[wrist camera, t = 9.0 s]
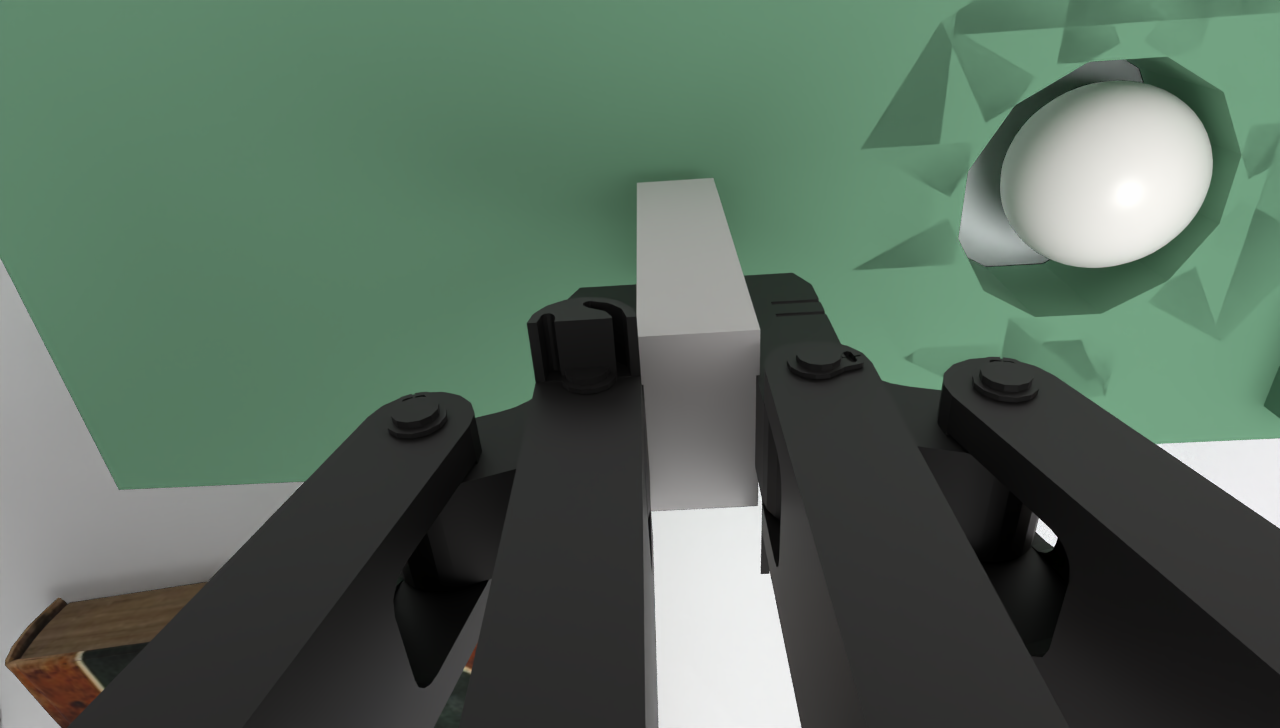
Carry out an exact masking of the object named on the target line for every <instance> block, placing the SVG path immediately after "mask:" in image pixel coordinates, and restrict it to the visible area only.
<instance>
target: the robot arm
mask: <svg viewBox="0 0 1280 728" xmlns="http://www.w3.org/2000/svg"><path fill="white" fill-rule="evenodd" d="M527 329H528V336H529V342H530V349H531V356H532V362H533V369H534V375H535V382H536V383H535V387H534V392H533V396H532V399H530V400H529V401H527V402H525V403H523V404H521V405H519V406H516V407H514V408H511V409H507V410H504V411H501V412H497V413H493V414H489V415H485V416H481V417H476V418H475V413H474V410H473V407H472V404H471V402H469V401H468V400H466V399H465V398H463V397H462V396H460V395H456V394H452V393H447V392H419V393H415V394H414V395H412V394H409V395H405V396H402V397H400V398H399V399H397V400H394V401H392V402H390V403H388V404H385V405H383V406H381V407H380V408H379V409H378V410H376V411H375V412H374V413H372V414H371V415H370V416H368V417H367V418H366V419H365V420H364V421H363V422H362V423H361V424H360V425H359V426H358V427H357V429H356V430H355V431H354V432H353V433H352V434H351V435H350V436H349V437H348V438H347V439H346V440H345V441H344V442H343V443H342V444H341V445H340V446H339V447H338V448H337V449H336V450H335V451H334V452H333V453H332V454H331V455H330V456H329V457H328V458H327V459H326V461H325V462H324V463H323V464H322V465H321V466H320V467H319V468H318V469H317V470H316V471H315V472H314V473H313V474H312V475H311V476H310V477H309V478H308V479H307V480H306V481H305V482H304V483H303V484H302V485H301V486H300V487H299V488H298V489H297V490H296V492H295V493H294V494H293V495H292V496H291V497H290V498H289V499H288V500H287V501H286V502H285V503H284V504H283V505H282V506H281V507H280V508H279V509H278V510H277V511H276V512H275V513H274V514H273V515H272V516H271V517H270V518H269V519H268V520H267V521H266V522H265V524H264V525H263V526H262V527H261V528H260V529H259V530H258V531H257V532H256V533H255V534H254V535H253V536H252V537H251V538H250V539H249V540H248V541H247V542H246V543H245V544H244V545H243V546H242V547H241V548H240V549H239V550H238V551H237V552H236V553H235V555H234V556H233V557H232V558H231V559H230V560H229V561H228V562H227V563H226V564H225V565H224V566H223V567H222V568H221V569H220V570H219V571H218V572H217V573H216V574H215V575H214V576H213V577H212V578H211V579H210V580H209V581H208V582H207V583H206V584H205V585H204V587H203V588H202V589H201V590H200V591H199V592H198V593H197V594H196V595H195V596H194V597H193V598H192V599H191V600H190V601H189V602H188V603H187V604H186V605H185V606H184V607H183V608H182V609H181V610H180V611H179V612H178V613H177V614H176V615H175V616H174V617H173V619H172V620H171V621H170V622H169V623H168V624H167V625H166V626H165V627H164V628H163V629H162V630H161V631H160V632H159V633H158V634H157V635H156V636H155V637H154V638H153V639H152V640H151V641H150V642H149V643H148V644H147V645H146V646H145V647H144V648H143V650H142V651H141V652H140V653H139V654H138V655H137V656H136V657H135V658H134V659H133V660H132V661H131V662H130V663H129V664H128V665H127V666H126V667H125V668H124V669H123V670H122V671H121V672H120V673H119V674H118V675H117V676H116V677H115V678H114V679H113V680H112V682H111V683H110V684H109V685H108V686H107V687H106V688H105V689H104V690H103V691H102V692H101V693H100V694H99V695H98V696H97V697H96V698H95V699H94V700H93V701H92V702H91V703H90V704H89V705H88V706H87V707H86V708H85V709H84V710H83V711H82V712H81V714H80V715H79V716H78V717H77V718H76V719H75V720H74V721H73V722H72V723H71V724H70V725H69V726H68V727H67V728H434V726H435V724H436V722H437V720H438V718H439V716H440V714H441V712H442V710H443V708H444V707H445V705H446V703H447V701H448V699H449V697H450V695H451V693H452V691H453V689H454V687H455V685H456V683H457V681H458V679H459V677H460V675H461V674H462V672H463V670H464V668H465V666H466V664H467V662H468V660H469V658H470V656H471V654H472V652H473V650H474V648H475V646H476V644H477V642H478V644H477V648H476V653H475V657H474V661H473V666H472V670H471V675H470V679H469V684H468V688H467V693H466V697H465V702H464V706H463V711H462V715H461V720H460V724H459V728H658V699H657V664H656V630H655V595H654V561H653V533H652V519H651V511H667V510H687V509H706V508H726V507H745V506H758V482H759V487H760V491H761V496H762V540H761V574H769V571H770V574H771V579H772V584H773V589H774V594H775V599H776V604H777V609H778V614H779V619H780V624H781V628H782V633H783V638H784V643H785V648H786V653H787V658H788V663H789V668H790V673H791V678H792V683H793V687H794V692H795V697H796V702H797V707H798V712H799V717H800V722H801V727H802V728H1280V529H1279V528H1278V527H1276V526H1275V525H1273V524H1272V523H1271V522H1269V521H1268V520H1266V519H1265V518H1263V517H1262V516H1260V515H1259V514H1257V513H1256V512H1254V511H1253V510H1251V509H1250V508H1249V507H1247V506H1246V505H1244V504H1243V503H1241V502H1240V501H1238V500H1237V499H1235V498H1234V497H1232V496H1231V495H1229V494H1228V493H1226V492H1225V491H1224V490H1222V489H1221V488H1219V487H1218V486H1216V485H1215V484H1213V483H1212V482H1210V481H1209V480H1207V479H1206V478H1204V477H1203V476H1201V475H1200V474H1199V473H1197V472H1196V471H1194V470H1193V469H1191V468H1190V467H1188V466H1187V465H1185V464H1184V463H1182V462H1181V461H1179V460H1178V459H1177V458H1175V457H1174V456H1172V455H1171V454H1169V453H1168V452H1166V451H1165V450H1163V449H1162V448H1160V447H1159V446H1157V445H1156V444H1154V443H1153V442H1152V441H1150V440H1149V439H1147V438H1146V437H1144V436H1143V435H1141V434H1140V433H1138V432H1137V431H1135V430H1134V429H1132V428H1131V427H1130V426H1128V425H1127V424H1125V423H1124V422H1122V421H1121V420H1119V419H1118V418H1116V417H1115V416H1113V415H1112V414H1110V413H1109V412H1107V411H1106V410H1105V409H1103V408H1102V407H1100V406H1099V405H1097V404H1096V403H1094V402H1093V401H1091V400H1090V399H1088V398H1087V397H1085V396H1084V395H1082V394H1081V393H1080V392H1078V391H1077V390H1075V389H1074V388H1072V387H1071V386H1069V385H1068V384H1066V383H1065V382H1063V381H1062V380H1060V379H1059V378H1058V377H1056V376H1055V375H1053V374H1051V373H1049V372H1047V371H1045V370H1043V369H1041V368H1039V367H1037V366H1034V365H1031V364H1027V363H1023V362H1020V361H1018V360H1016V359H1012V358H1005V357H1003V359H1001V358H1000V357H986V358H975V359H968V360H965V361H962V362H959V363H956V364H953V365H952V366H951V367H950V368H949V369H948V370H947V371H946V372H945V373H944V376H943V382H942V389H941V390H935V389H927V388H918V387H910V386H904V385H898V384H893V383H889V382H886V381H882V380H881V378H880V376H879V374H878V372H877V371H876V369H875V367H874V365H873V363H872V362H871V361H870V360H869V359H868V358H867V357H866V356H865V355H864V354H863V353H862V352H860V351H858V350H856V349H853V348H851V347H849V346H847V345H842V344H841V343H840V341H839V339H838V337H837V335H836V333H835V331H834V329H833V327H832V324H831V322H830V320H829V318H828V316H827V314H825V310H824V308H823V306H822V304H821V302H819V298H818V296H817V294H816V292H815V290H814V288H813V286H812V284H810V283H809V282H807V281H805V280H804V279H802V278H801V277H799V276H797V275H796V274H794V273H778V274H761V275H743V272H742V269H741V266H740V262H739V259H738V256H737V253H736V249H735V246H734V243H733V240H732V236H731V233H730V230H729V227H728V224H727V220H726V217H725V214H724V211H723V207H722V204H721V201H720V198H719V194H718V191H717V188H716V185H715V182H714V178H704V179H689V180H673V181H657V182H642V183H637V284H633V285H617V286H600V287H583V288H579V289H578V290H577V291H576V292H575V293H574V294H573V295H571V296H570V297H569V298H568V299H567V300H563V301H560V302H556V303H553V304H550V305H547V306H545V307H544V308H542V309H540V310H539V311H537V312H535V313H534V314H533V315H532V316H531V318H530V319H529V320H528V322H527ZM1039 518H1040V519H1041V520H1042V521H1043V522H1044V523H1045V524H1046V525H1047V526H1048V527H1049V528H1050V529H1051V530H1052V531H1053V532H1054V533H1055V535H1056V536H1057V537H1058V539H1057V543H1056V545H1055V546H1054V547H1053V546H1051V545H1050V544H1048V543H1047V542H1046V541H1045V540H1044V539H1043V538H1042V537H1040V536H1039V535H1038V534H1037V533H1036V532H1035V531H1036V527H1037V523H1038V519H1039Z"/></svg>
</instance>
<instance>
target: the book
mask: <svg viewBox="0 0 1280 728" xmlns="http://www.w3.org/2000/svg"><path fill="white" fill-rule="evenodd" d="M206 583H207V582H204V583H197V584H190V585H184V586H177V587H170V588H164V589H157V590H151V591H144V592H137V593H131V594H124V595H118V596H111V597H105V598H98V599H91V600H85V601H78V602H72V603H69V604H68V605H67V603H66V602H65V601H64V600H63V599H61V598H58V599H57V600H55V601H54V602H53V603H52V604H51V605H50V606H49V607H47V608H46V609H45V610H44V611H43V612H42V613H41V614H40V615H39V616H38V617H37V618H36V619H35V620H34V621H33V622H32V623H31V624H30V625H29V626H28V627H27V628H26V629H25V631H24V632H23V633H22V634H21V636H20V637H19V638H18V640H17V641H16V642H15V643H14V645H13V646H12V648H11V650H10V652H9V654H8V656H7V658H6V660H5V665H6V667H7V668H8V669H9V670H10V671H11V672H12V673H13V674H14V675H15V676H16V677H17V678H18V679H19V681H20V682H21V683H22V684H23V685H24V686H25V687H26V688H27V690H28V691H29V692H30V693H31V694H32V695H33V696H34V698H35V699H36V700H37V701H38V702H39V703H40V704H41V706H42V707H43V708H44V709H45V710H46V711H47V712H48V714H49V715H50V716H51V717H52V718H53V719H54V720H55V721H56V722H57V723H58V724H59V725H60V726H61V728H67V727H68V726H69V725H70V724H71V723H72V722H73V721H74V720H75V719H76V718H77V717H78V716H79V715H80V714H81V712H82V711H83V710H84V709H85V708H86V707H87V706H88V705H89V704H90V703H91V702H92V701H93V700H94V699H95V698H96V697H97V696H98V695H99V694H100V693H101V692H102V691H103V690H104V689H105V688H106V687H107V686H108V685H109V684H110V683H111V682H112V680H113V679H114V678H115V677H116V676H117V675H118V674H119V673H120V672H121V671H122V670H123V669H124V668H125V667H126V666H127V665H128V664H129V663H130V662H131V661H132V660H133V659H134V658H135V657H136V656H137V655H138V654H139V653H140V652H141V651H142V650H143V648H144V647H145V646H146V645H147V644H148V643H149V642H150V641H151V640H152V639H153V638H154V637H155V636H156V635H157V634H158V633H159V632H160V631H161V630H162V629H163V628H164V627H165V626H166V625H167V624H168V623H169V622H170V621H171V620H172V619H173V617H174V616H175V615H176V614H177V613H178V612H179V611H180V610H181V609H182V608H183V607H184V606H185V605H186V604H187V603H188V602H189V601H190V600H191V599H192V598H193V597H194V596H195V595H196V594H197V593H198V592H199V591H200V590H201V589H202V588H203V587H204V585H205V584H206ZM477 644H478V642H477ZM477 644H476V646H475V648H474V650H473V652H472V654H471V656H470V658H469V660H468V662H467V664H466V666H465V668H464V670H463V672H462V674H461V675H460V677H459V679H458V681H457V683H456V685H455V687H454V689H453V691H452V693H451V695H450V697H449V699H448V701H447V703H446V705H445V707H444V708H443V710H442V712H441V714H440V716H439V718H438V720H437V722H436V724H435V726H434V728H459V724H460V720H461V715H462V711H463V706H464V702H465V697H466V693H467V688H468V684H469V679H470V675H471V670H472V666H473V661H474V657H475V653H476V648H477Z"/></svg>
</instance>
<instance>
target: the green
mask: <svg viewBox="0 0 1280 728" xmlns="http://www.w3.org/2000/svg"><path fill="white" fill-rule="evenodd" d="M1124 59H1125V60H1127V61H1128V62H1130V63H1132V64H1133V65H1135V66H1136V67H1138V68H1139V69H1140V72H1141V75H1142V78H1143V81H1144V83H1145V84H1149V85H1153V86H1155V87H1158V88H1161V89H1164V90H1165V91H1167V92H1169V93H1171V94H1173V95H1175V96H1176V97H1178V98H1179V99H1180V100H1182V101H1183V102H1185V103H1186V104H1187V105H1188V106H1189V107H1190V108H1191V109H1192V110H1193V111H1194V112H1195V113H1196V115H1197V116H1198V118H1199V119H1200V120H1201V122H1202V124H1203V126H1204V128H1205V130H1206V132H1207V134H1208V137H1209V141H1210V144H1211V148H1212V157H1213V169H1212V177H1211V182H1210V186H1209V189H1208V191H1207V194H1206V197H1205V199H1204V202H1203V204H1202V205H1201V207H1200V209H1199V211H1198V212H1197V214H1196V215H1195V217H1194V218H1193V219H1192V221H1191V222H1190V223H1189V225H1188V226H1187V227H1186V228H1185V229H1184V230H1183V231H1182V232H1181V233H1180V234H1179V235H1178V236H1176V237H1175V238H1174V239H1173V240H1171V241H1170V242H1169V243H1168V244H1166V245H1165V246H1163V247H1162V248H1160V249H1159V250H1157V251H1155V252H1154V253H1151V254H1149V255H1147V256H1145V257H1143V258H1141V259H1138V260H1135V261H1132V262H1129V263H1125V264H1121V265H1117V266H1111V267H1103V268H1084V267H1075V266H1070V265H1065V264H1062V263H1059V262H1056V261H1053V260H1049V261H1047V262H1045V263H1044V264H1031V265H1013V266H995V267H985V266H983V265H981V264H979V263H977V262H975V261H973V260H971V259H969V258H967V256H966V254H965V252H964V250H963V248H962V246H961V244H960V242H959V240H958V236H959V229H960V222H961V216H962V209H963V202H964V195H965V188H966V181H967V175H968V171H969V169H970V168H971V166H972V165H973V164H974V162H975V161H976V159H977V158H978V157H979V155H980V154H981V152H982V151H983V150H984V148H985V147H986V145H987V144H988V143H989V141H990V140H991V138H992V137H993V136H994V134H995V133H996V131H997V130H998V129H999V127H1000V126H1001V124H1002V123H1003V122H1004V120H1005V119H1006V117H1007V116H1008V115H1009V113H1010V112H1011V110H1012V109H1013V108H1014V106H1015V105H1017V104H1018V103H1020V102H1022V101H1023V100H1025V99H1027V98H1029V97H1030V96H1032V95H1034V94H1035V93H1037V92H1039V91H1040V90H1042V89H1044V88H1045V87H1047V86H1049V85H1050V84H1052V83H1054V82H1056V81H1057V80H1059V79H1061V78H1062V77H1064V76H1066V75H1067V74H1069V73H1071V72H1072V71H1074V70H1076V69H1078V68H1079V67H1081V66H1083V65H1084V64H1086V63H1088V62H1094V61H1109V60H1124ZM704 178H714V182H715V185H716V188H717V191H718V194H719V198H720V201H721V204H722V207H723V211H724V214H725V217H726V220H727V224H728V227H729V230H730V233H731V236H732V240H733V243H734V246H735V249H736V253H737V256H738V259H739V262H740V266H741V269H742V272H743V275H761V274H778V273H794V274H796V275H797V276H799V277H801V278H802V279H804V280H805V281H807V282H809V283H810V284H812V286H813V288H814V290H815V292H816V294H817V296H818V298H819V302H821V304H822V306H823V308H824V310H825V314H827V316H828V318H829V320H830V322H831V324H832V327H833V329H834V331H835V333H836V335H837V337H838V339H839V341H840V343H841V344H842V345H847V346H849V347H851V348H853V349H856V350H858V351H860V352H862V353H863V354H864V355H865V356H866V357H867V358H868V359H869V360H870V361H871V362H872V363H873V365H874V367H875V369H876V371H877V372H878V374H879V376H880V378H881V380H882V381H886V382H889V383H893V384H898V385H904V386H910V387H918V388H927V389H935V390H941V389H942V382H943V376H944V373H945V372H946V371H947V370H948V369H949V368H950V367H951V366H952V365H953V364H956V363H959V362H962V361H965V360H968V359H975V358H986V357H1000V358H1001V359H1003V357H1005V358H1012V359H1016V360H1018V361H1020V362H1023V363H1027V364H1031V365H1034V366H1037V367H1039V368H1041V369H1043V370H1045V371H1047V372H1049V373H1051V374H1053V375H1055V376H1056V377H1058V378H1059V379H1060V380H1062V381H1063V382H1065V383H1066V384H1068V385H1069V386H1071V387H1072V388H1074V389H1075V390H1077V391H1078V392H1080V393H1081V394H1082V395H1084V396H1085V397H1087V398H1088V399H1090V400H1091V401H1093V402H1094V403H1096V404H1097V405H1099V406H1100V407H1102V408H1103V409H1105V410H1106V411H1107V412H1109V413H1110V414H1112V415H1113V416H1115V417H1116V418H1118V419H1119V420H1121V421H1122V422H1124V423H1125V424H1127V425H1128V426H1130V427H1131V428H1132V429H1134V430H1135V431H1137V432H1138V433H1140V434H1141V435H1143V436H1144V437H1146V438H1147V439H1149V440H1150V441H1152V442H1153V443H1154V444H1161V443H1184V442H1206V441H1229V440H1251V439H1274V438H1280V0H0V258H1V260H2V262H3V264H4V266H5V268H6V270H7V272H8V274H9V276H10V277H11V279H12V281H13V283H14V285H15V287H16V289H17V291H18V293H19V295H20V297H21V299H22V301H23V303H24V305H25V307H26V309H27V311H28V313H29V315H30V317H31V319H32V321H33V323H34V324H35V326H36V328H37V330H38V332H39V334H40V336H41V338H42V340H43V342H44V344H45V346H46V348H47V350H48V352H49V354H50V356H51V358H52V360H53V362H54V364H55V366H56V368H57V370H58V371H59V373H60V375H61V377H62V379H63V381H64V383H65V385H66V387H67V389H68V391H69V393H70V395H71V397H72V399H73V401H74V403H75V405H76V407H77V409H78V411H79V413H80V415H81V417H82V418H83V420H84V422H85V424H86V426H87V428H88V430H89V432H90V434H91V436H92V438H93V440H94V442H95V444H96V446H97V448H98V450H99V452H100V454H101V456H102V458H103V460H104V462H105V464H106V465H107V467H108V469H109V471H110V473H111V475H112V477H113V479H114V481H115V483H116V485H117V487H118V489H119V490H125V489H148V488H170V487H193V486H215V485H238V484H260V483H283V482H305V481H306V480H307V479H308V478H309V477H310V476H311V475H312V474H313V473H314V472H315V471H316V470H317V469H318V468H319V467H320V466H321V465H322V464H323V463H324V462H325V461H326V459H327V458H328V457H329V456H330V455H331V454H332V453H333V452H334V451H335V450H336V449H337V448H338V447H339V446H340V445H341V444H342V443H343V442H344V441H345V440H346V439H347V438H348V437H349V436H350V435H351V434H352V433H353V432H354V431H355V430H356V429H357V427H358V426H359V425H360V424H361V423H362V422H363V421H364V420H365V419H366V418H367V417H368V416H370V415H371V414H372V413H374V412H375V411H376V410H378V409H379V408H380V407H381V406H383V405H385V404H388V403H390V402H392V401H394V400H397V399H399V398H400V397H402V396H405V395H409V394H412V395H414V394H415V393H419V392H447V393H452V394H456V395H460V396H462V397H463V398H465V399H466V400H468V401H469V402H471V404H472V407H473V410H474V413H475V418H476V417H481V416H485V415H489V414H493V413H497V412H501V411H504V410H507V409H511V408H514V407H516V406H519V405H521V404H523V403H525V402H527V401H529V400H530V399H532V396H533V392H534V387H535V383H536V382H535V375H534V369H533V362H532V356H531V349H530V342H529V336H528V329H527V322H528V320H529V319H530V318H531V316H532V315H533V314H534V313H535V312H537V311H539V310H540V309H542V308H544V307H545V306H547V305H550V304H553V303H556V302H560V301H563V300H567V299H568V298H569V297H570V296H571V295H573V294H574V293H575V292H576V291H577V290H578V289H579V288H583V287H600V286H617V285H633V284H637V183H642V182H657V181H673V180H689V179H704Z"/></svg>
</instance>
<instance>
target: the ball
mask: <svg viewBox="0 0 1280 728" xmlns="http://www.w3.org/2000/svg"><path fill="white" fill-rule="evenodd" d="M1212 169H1213V157H1212V148H1211V144H1210V141H1209V137H1208V134H1207V132H1206V130H1205V128H1204V126H1203V124H1202V122H1201V120H1200V119H1199V118H1198V116H1197V115H1196V113H1195V112H1194V111H1193V110H1192V109H1191V108H1190V107H1189V106H1188V105H1187V104H1186V103H1185V102H1183V101H1182V100H1180V99H1179V98H1178V97H1176V96H1175V95H1173V94H1171V93H1169V92H1167V91H1165V90H1164V89H1161V88H1158V87H1155V86H1153V85H1149V84H1145V83H1140V82H1134V81H1105V82H1098V83H1093V84H1089V85H1085V86H1081V87H1079V88H1076V89H1073V90H1071V91H1068V92H1066V93H1064V94H1062V95H1060V96H1059V97H1057V98H1055V99H1053V100H1052V101H1050V102H1049V103H1048V104H1046V105H1045V106H1043V107H1042V108H1041V109H1039V110H1038V111H1037V112H1036V113H1035V114H1034V115H1032V116H1031V117H1030V118H1029V120H1028V121H1027V122H1026V123H1025V124H1024V125H1023V126H1022V127H1021V129H1020V130H1019V132H1018V133H1017V134H1016V136H1015V138H1014V139H1013V141H1012V143H1011V145H1010V147H1009V149H1008V151H1007V153H1006V156H1005V159H1004V162H1003V166H1002V170H1001V179H1000V194H1001V201H1002V206H1003V209H1004V212H1005V215H1006V217H1007V219H1008V221H1009V223H1010V225H1011V227H1012V228H1013V229H1014V231H1015V232H1016V233H1017V235H1018V236H1019V237H1020V238H1021V239H1022V240H1023V241H1024V242H1025V244H1027V245H1028V246H1029V247H1030V248H1032V249H1033V250H1034V251H1036V252H1037V253H1039V254H1041V255H1042V256H1044V257H1046V258H1049V259H1051V260H1053V261H1056V262H1059V263H1062V264H1065V265H1070V266H1075V267H1084V268H1103V267H1111V266H1117V265H1121V264H1125V263H1129V262H1132V261H1135V260H1138V259H1141V258H1143V257H1145V256H1147V255H1149V254H1151V253H1154V252H1155V251H1157V250H1159V249H1160V248H1162V247H1163V246H1165V245H1166V244H1168V243H1169V242H1170V241H1171V240H1173V239H1174V238H1175V237H1176V236H1178V235H1179V234H1180V233H1181V232H1182V231H1183V230H1184V229H1185V228H1186V227H1187V226H1188V225H1189V223H1190V222H1191V221H1192V219H1193V218H1194V217H1195V215H1196V214H1197V212H1198V211H1199V209H1200V207H1201V205H1202V204H1203V202H1204V199H1205V197H1206V194H1207V191H1208V189H1209V186H1210V182H1211V177H1212Z"/></svg>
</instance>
